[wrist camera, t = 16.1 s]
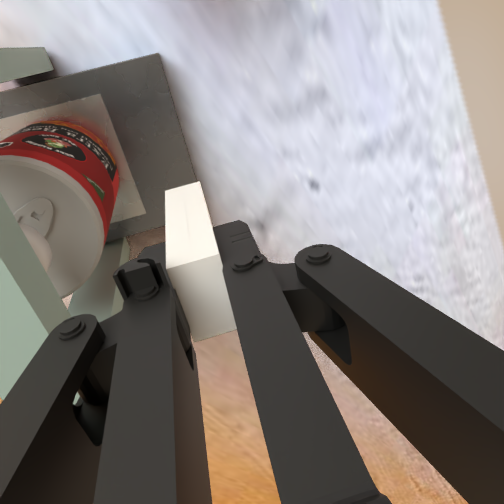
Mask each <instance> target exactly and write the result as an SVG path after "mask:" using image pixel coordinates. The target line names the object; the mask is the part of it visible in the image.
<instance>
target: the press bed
mask: <svg viewBox="0 0 504 504" xmlns="http://www.w3.org/2000/svg"><path fill="white" fill-rule="evenodd" d="M56 120H57V121H63V122H70V123H72V124H75V125H78V126H81V127H83V128H85V129H86V130H88V131H90V132H92V133H93V134H94V135H95V136H97V137H98V138H99V139H100V140H101V141H102V142H103V143H104V144H105V145H106V147H107V148H108V149H109V151H110V152H111V154H112V156H113V158H114V160H115V163H116V166H117V169H118V175H119V186H118V193H117V197H116V201H115V205H114V209H113V213H112V218H111V222H110V226H109V230H108V234H107V238H106V242H109V241H113V240H116V239H120V238H123V237H127V236H130V235H134V234H137V233H141V232H144V231H148V230H151V229H155V228H158V227H162V226H165V191H166V190H170V189H173V188H177V187H181V186H184V185H188V184H192V183H195V182H197V181H196V178H195V174H194V171H193V168H192V164H191V161H190V158H189V154H188V151H187V147H186V144H185V141H184V137H183V134H182V131H181V127H180V124H179V121H178V117H177V114H176V111H175V107H174V104H173V100H172V97H171V94H170V90H169V87H168V84H167V80H166V77H165V74H164V70H163V67H162V64H161V60H160V57H159V54H158V53H155V54H151V55H147V56H143V57H139V58H135V59H131V60H127V61H122V62H118V63H114V64H110V65H106V66H102V67H98V68H94V69H90V70H86V71H82V72H78V73H74V74H70V75H66V76H62V77H58V78H54V79H50V80H46V81H42V82H38V83H34V84H30V85H26V86H22V87H18V88H14V89H10V90H6V91H2V92H0V141H2V140H4V139H5V138H7V137H9V136H10V135H12V134H14V133H15V132H17V131H19V130H20V129H22V128H24V127H26V126H29V125H31V124H33V123H37V122H42V121H56ZM106 242H105V243H106Z"/></svg>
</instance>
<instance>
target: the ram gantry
mask: <svg viewBox="0 0 504 504" xmlns="http://www.w3.org/2000/svg"><path fill="white" fill-rule="evenodd" d="M52 70H54V69H53V66H52V64H51V62H50V59H49V57H48V55H47V52H46V50H45V48H44V47H33V48H0V83H3V82H7V81H11V80H15V79H19V78H23V77H27V76H31V75H36V74H40V73H44V72H48V71H52ZM129 256H130V247H129V244H128V242H127V240H126V237H123V238H120V239H116V240H113V241H109V242H106V243H105V245H104V248H103V251H102V254H101V257H100V260H99V262H98V264H97V266H96V268H95V270H94V271H93V273H92V275H91V276H90V278H89V279H88V280H87V281H86V282H85V283H84V284H83V285H82V286H81V287H80V288H79V289H77V290H76V291H75V292H73V295H72V298H71V301H70V304H69V307H68V310H67V308H66V306H65V304H64V303H63V301H62V299H61V297H60V296H59V294H58V292H57V290H56V289H55V287H54V285H53V283H52V282H51V280H50V278H49V276H48V275H47V273H46V272H47V270H48V268H49V266H50V264H51V260H52V252H51V248H50V246H49V243H48V242H47V240H46V239H45V238H44V237H43V236H42V235H41V234H40V233H39V232H38V231H37V230H35V229H33V228H32V227H30V226H27V225H25V224H21V223H18V222H17V221H16V219H15V217H14V215H13V214H12V212H11V210H10V208H9V207H8V205H7V203H6V201H5V200H4V198H3V196H2V194H1V193H0V397H1V399H2V400H4V399H5V397H6V396H7V394H8V393H9V391H10V390H11V389H12V387H13V386H14V384H15V383H16V381H17V380H18V378H19V377H20V376H21V374H22V373H23V371H24V370H25V368H26V367H27V365H28V364H29V363H30V361H31V360H32V358H33V357H34V355H35V354H36V352H37V351H38V350H39V348H40V347H41V345H42V344H43V342H44V341H45V339H46V338H47V337H48V335H49V334H50V333H51V331H52V330H53V329H54V328H55V327H56V326H58V325H59V324H61V323H62V322H63V321H64V320H66V319H69V318H70V317H73V316H77V315H81V314H91V315H94V316H96V318H97V320H98V322H101V321H103V320H105V319H107V318H109V317H111V316H113V315H115V314H117V313H119V312H120V311H121V310H122V308H123V301H124V300H123V298H122V296H121V293H120V291H119V289H118V287H117V285H116V283H115V281H114V279H113V274H114V272H115V271H116V270H117V269H118V268H119V267H120V266H121V265H123V264H125V263H126V262H128V261H129ZM79 397H80V396H79V394H78V392H77V393H76V396H75V399H74V402H73V404H74V405H75V404H76V403H77V401H78V399H79Z"/></svg>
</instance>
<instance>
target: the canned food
mask: <svg viewBox="0 0 504 504" xmlns="http://www.w3.org/2000/svg"><path fill="white" fill-rule="evenodd" d="M118 186H119V175H118V169H117V166H116V163H115V160H114V158H113V156H112V154H111V152H110V151H109V149H108V148H107V147H106V145H105V144H104V143H103V142H102V141H101V140H100V139H99V138H98V137H97V136H95V135H94V134H93V133H92V132H90V131H88V130H86V129H85V128H83V127H81V126H78V125H75V124H72V123H70V122H63V121H57V120H56V121H42V122H37V123H33V124H31V125H29V126H26V127H24V128H22V129H20V130H19V131H17V132H15V133H14V134H12V135H10V136H9V137H7V138H5V139H4V140H2V141H0V193H1V194H2V196H3V198H4V200H5V201H6V203H7V205H8V207H9V208H10V210H11V212H12V214H13V215H14V217H15V219H16V221H17V222H18V223H21V224H25V225H27V226H30V227H32V228H33V229H35V230H37V231H38V232H39V233H40V234H41V235H42V236H43V237H44V238H45V239H46V240H47V242H48V243H49V246H50V248H51V252H52V260H51V264H50V266H49V268H48V270H47V272H46V273H47V275H48V276H49V278H50V280H51V282H52V283H53V285H54V287H55V289H56V290H57V292H58V294H59V296H60V297H61V299H62V298H65V297H67V296H69V295H70V294H72V293H73V292H75V291H76V290H77V289H79V288H80V287H81V286H82V285H83V284H84V283H85V282H86V281H87V280H88V279H89V278H90V276H91V275H92V273H93V271H94V270H95V268H96V266H97V264H98V262H99V260H100V257H101V254H102V251H103V248H104V245H105V242H106V238H107V234H108V230H109V226H110V222H111V218H112V213H113V209H114V205H115V201H116V197H117V193H118Z"/></svg>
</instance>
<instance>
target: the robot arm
mask: <svg viewBox="0 0 504 504" xmlns="http://www.w3.org/2000/svg"><path fill="white" fill-rule="evenodd" d="M165 229H166V242H163V243H160V244H156V245H153V246H149V247H145V248H144V249H143V250H142V252H141V253H140V254H139V256H138V258H136V259H133V260H130V261H128V262H126V263H125V264H123V265H121V266H120V267H119V268H118V269H117V270H116V271H115V272H114V274H113V279H114V281H115V283H116V285H117V287H118V289H119V291H120V293H121V296H122V298H123V300H124V301H123V308H122V310H121V311H120V312H119V313H117V314H115V315H113V316H111V317H109V318H107V319H105V320H103V321H101V322H98V320H97V318H96V316H94V315H91V314H81V315H77V316H73V317H70V318H69V319H66V320H64V321H63V322H62V323H61V324H59V325H58V326H56V327H55V328H54V329H53V330H52V331H51V333H50V334H49V335H48V337H47V338H46V339H45V341H44V342H43V344H42V345H41V347H40V348H39V350H38V351H37V352H36V354H35V355H34V357H33V358H32V360H31V361H30V363H29V364H28V365H27V367H26V368H25V370H24V371H23V373H22V374H21V376H20V377H19V378H18V380H17V381H16V383H15V384H14V386H13V387H12V389H11V390H10V391H9V393H8V394H7V396H6V397H5V399H4V400H3V402H2V403H1V404H0V504H212V497H211V488H210V479H209V470H208V461H207V452H206V442H205V433H204V424H203V415H202V406H201V397H200V388H199V378H198V369H197V360H196V353H195V350H194V348H193V345H192V343H191V336H192V338H193V341H194V342H197V341H201V340H204V339H207V338H211V337H214V336H217V335H221V334H224V333H227V332H230V331H234V330H237V331H238V335H239V339H240V343H241V347H242V351H243V355H244V359H245V363H246V367H247V371H248V375H249V379H250V382H251V386H252V390H253V394H254V398H255V402H256V406H257V410H258V414H259V418H260V422H261V426H262V430H263V434H264V438H265V442H266V445H267V449H268V453H269V457H270V461H271V465H272V469H273V473H274V477H275V481H276V485H277V489H278V493H279V497H280V501H281V504H392V503H391V502H390V500H389V499H388V498H387V496H385V495H383V494H381V493H380V492H379V491H378V489H377V488H376V486H375V484H374V482H373V480H372V478H371V476H370V474H369V472H368V470H367V468H366V466H365V464H364V462H363V459H362V457H361V455H360V453H359V451H358V449H357V447H356V445H355V443H354V441H353V438H352V436H351V434H350V432H349V430H348V428H347V426H346V424H345V422H344V420H343V417H342V415H341V413H340V411H339V409H338V407H337V405H336V403H335V401H334V399H333V396H332V394H331V392H330V390H329V388H328V386H327V384H326V382H325V380H324V378H323V376H322V373H321V371H320V369H319V367H318V365H317V363H316V361H315V359H314V357H313V355H312V352H311V350H310V348H309V346H308V344H307V342H306V340H305V338H304V336H303V334H302V332H308V334H309V336H310V338H311V339H312V340H313V341H314V342H315V343H316V344H317V345H318V347H319V348H320V349H321V350H322V351H323V352H324V353H325V354H326V355H327V356H328V357H329V358H330V359H331V360H332V361H333V362H334V363H335V364H336V365H337V366H338V367H339V368H340V370H341V371H342V372H343V373H344V374H345V375H346V376H347V377H348V378H349V379H350V380H351V381H352V382H353V383H354V384H355V385H356V386H357V387H358V388H359V389H360V390H361V391H362V393H363V394H364V395H365V396H366V397H367V398H368V399H369V400H370V401H371V402H372V403H373V404H374V405H375V406H376V407H377V408H378V409H379V410H380V411H381V412H382V413H383V414H384V415H385V417H386V418H387V419H388V420H389V421H390V422H391V423H392V424H393V425H394V426H395V427H396V428H397V429H398V430H399V431H400V432H401V433H402V434H403V435H404V436H405V437H406V438H407V440H408V441H409V442H410V443H411V444H412V445H413V446H414V447H415V448H416V449H417V450H418V451H419V452H420V453H421V454H422V455H423V456H424V457H425V458H426V459H427V460H428V461H429V463H430V464H431V465H432V466H433V467H434V468H435V469H436V470H437V471H438V472H439V473H440V474H441V475H442V476H443V477H444V478H445V479H446V480H447V481H448V482H449V483H450V484H451V485H452V487H453V488H454V489H455V490H456V491H457V492H458V493H459V494H460V495H461V496H462V497H463V498H464V499H465V500H466V501H467V502H468V503H469V504H504V351H503V350H501V349H500V348H498V347H497V346H495V345H493V344H492V343H490V342H489V341H487V340H485V339H484V338H482V337H481V336H479V335H477V334H476V333H474V332H473V331H471V330H469V329H468V328H466V327H465V326H463V325H461V324H460V323H458V322H457V321H455V320H453V319H452V318H450V317H449V316H447V315H445V314H444V313H442V312H441V311H439V310H437V309H436V308H434V307H433V306H431V305H429V304H428V303H426V302H425V301H423V300H421V299H420V298H418V297H416V296H415V295H413V294H412V293H410V292H408V291H407V290H405V289H404V288H402V287H400V286H399V285H397V284H396V283H394V282H392V281H391V280H389V279H388V278H386V277H384V276H383V275H381V274H380V273H378V272H376V271H375V270H373V269H372V268H370V267H368V266H367V265H365V264H364V263H362V262H360V261H359V260H357V259H356V258H354V257H352V256H351V255H349V254H348V253H346V252H344V251H343V250H341V249H340V248H338V247H335V246H333V245H326V244H318V245H312V246H310V247H307V248H304V249H303V250H301V251H299V252H298V254H297V255H296V256H295V263H290V264H276V263H271V262H268V260H267V258H266V257H265V256H264V255H263V254H261V253H260V251H259V249H258V246H257V244H256V242H255V240H254V238H253V236H252V234H251V232H250V229H249V227H248V225H247V224H246V223H244V222H242V221H240V220H237V221H234V222H230V223H227V224H223V225H220V226H216V227H213V225H212V221H211V218H210V214H209V211H208V207H207V204H206V201H205V197H204V194H203V190H202V187H201V184H200V181H199V182H195V183H192V184H188V185H184V186H181V187H177V188H173V189H170V190H166V191H165ZM190 333H191V336H190ZM77 392H78V394H79V396H80V397H79V399H78V401H77V403H76V404H75V405H74V404H73V402H74V399H75V396H76V393H77Z"/></svg>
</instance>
